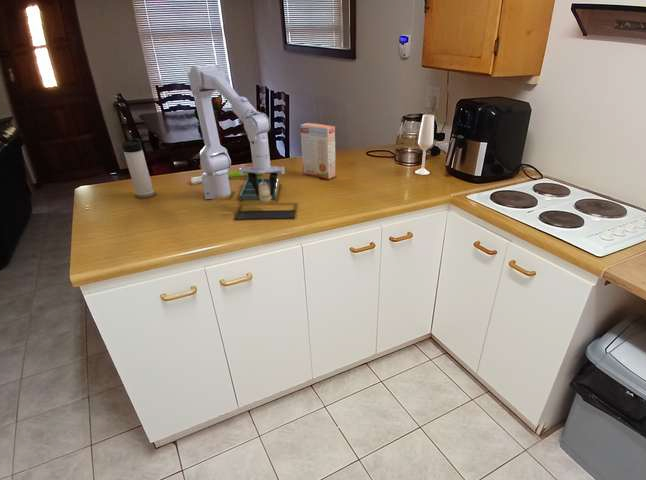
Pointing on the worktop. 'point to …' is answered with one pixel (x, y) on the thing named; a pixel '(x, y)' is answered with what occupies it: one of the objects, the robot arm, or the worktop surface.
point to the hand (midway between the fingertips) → (265, 194)
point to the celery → (230, 175)
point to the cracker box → (318, 150)
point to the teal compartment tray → (249, 191)
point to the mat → (265, 215)
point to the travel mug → (138, 168)
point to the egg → (264, 192)
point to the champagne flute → (426, 139)
